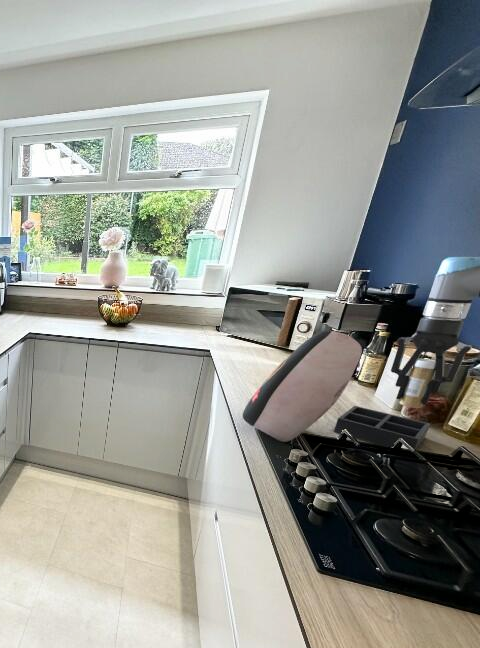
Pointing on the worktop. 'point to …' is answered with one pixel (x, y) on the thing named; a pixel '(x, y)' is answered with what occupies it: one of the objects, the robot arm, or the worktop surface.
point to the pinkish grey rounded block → (304, 385)
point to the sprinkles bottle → (418, 383)
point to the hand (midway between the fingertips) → (411, 400)
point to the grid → (381, 427)
